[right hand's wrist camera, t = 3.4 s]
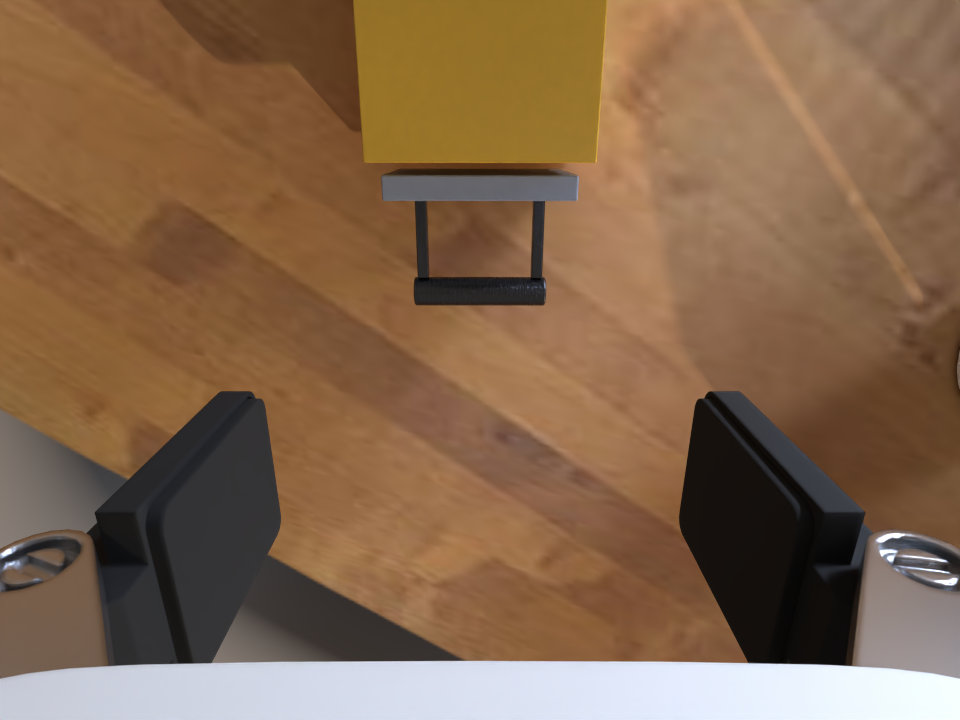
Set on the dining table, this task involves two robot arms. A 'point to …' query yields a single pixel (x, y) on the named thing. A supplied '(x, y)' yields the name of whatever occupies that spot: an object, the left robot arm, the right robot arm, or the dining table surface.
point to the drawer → (479, 188)
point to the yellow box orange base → (480, 80)
